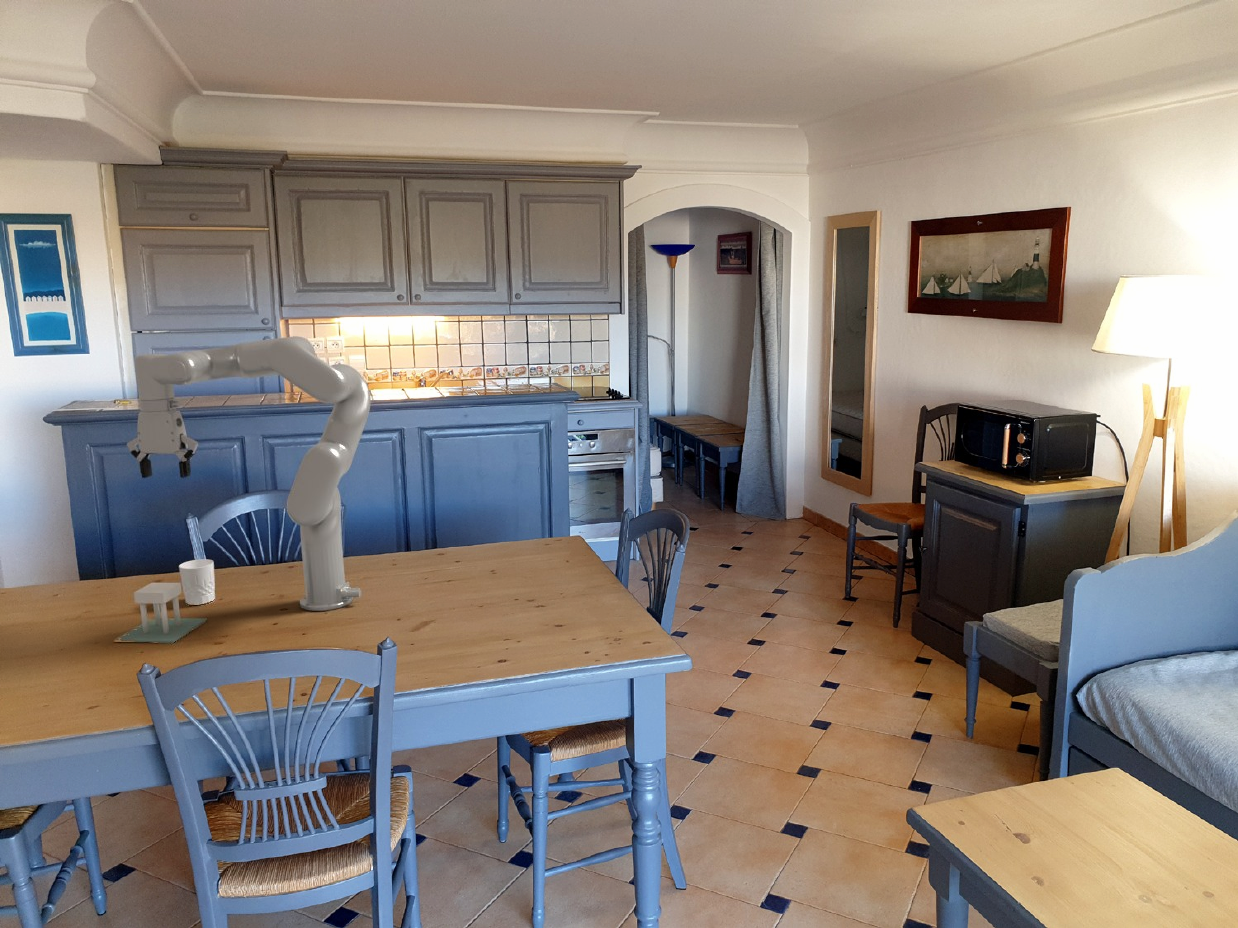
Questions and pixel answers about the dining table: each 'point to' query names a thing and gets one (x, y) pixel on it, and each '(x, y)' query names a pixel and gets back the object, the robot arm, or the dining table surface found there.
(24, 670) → the dining table surface
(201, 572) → the white cup
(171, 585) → the stool
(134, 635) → the mat
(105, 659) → the dining table surface
